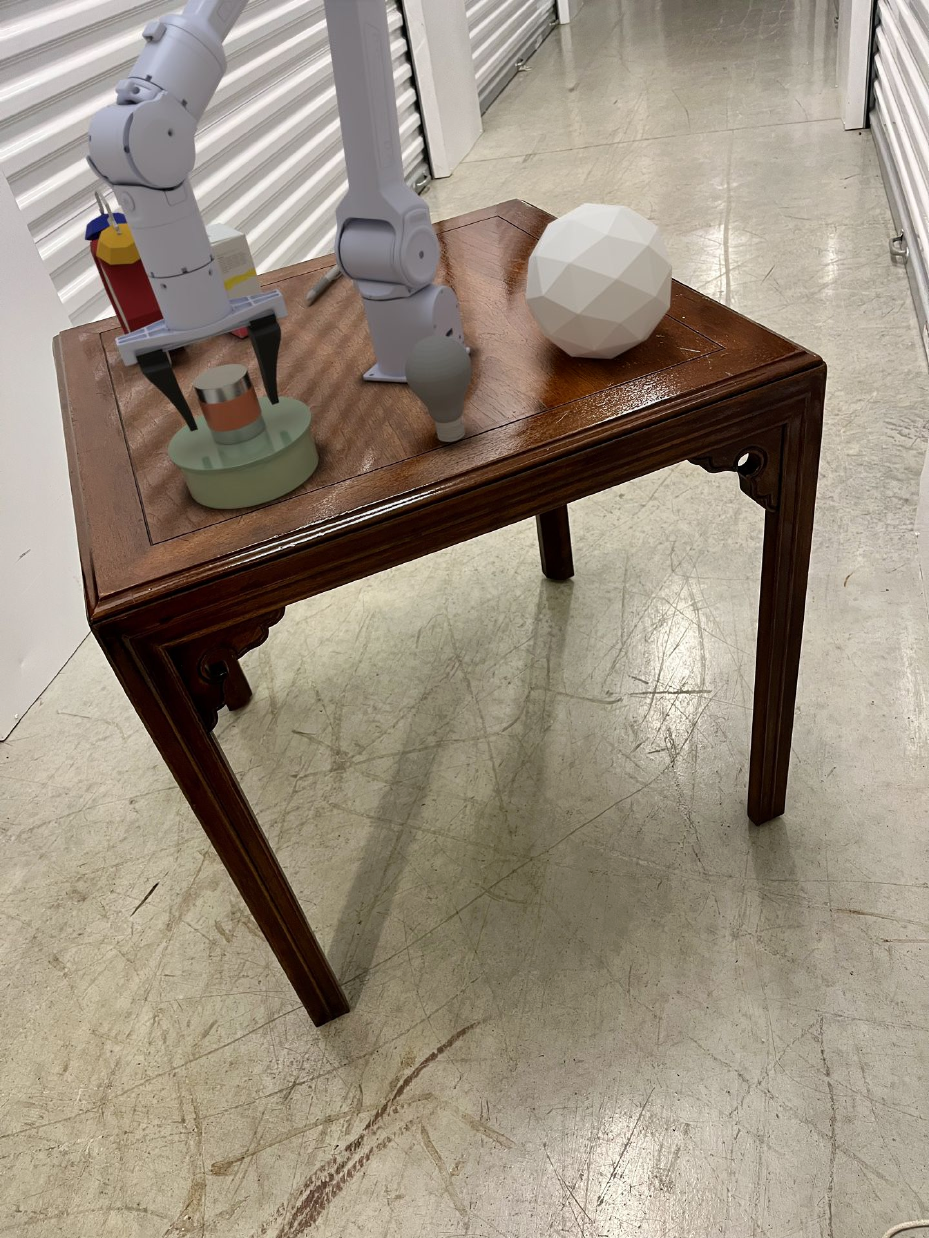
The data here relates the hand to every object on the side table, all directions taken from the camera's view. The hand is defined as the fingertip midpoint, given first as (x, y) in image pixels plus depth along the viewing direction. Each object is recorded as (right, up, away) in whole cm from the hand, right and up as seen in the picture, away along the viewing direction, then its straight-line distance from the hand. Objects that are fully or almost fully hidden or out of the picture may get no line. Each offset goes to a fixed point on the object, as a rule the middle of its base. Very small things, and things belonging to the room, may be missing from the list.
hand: (233, 413), depth 86 cm
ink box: (-7, +19, +36) cm, 41 cm away
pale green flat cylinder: (+1, -5, +4) cm, 6 cm away
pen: (+3, +26, +42) cm, 50 cm away
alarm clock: (-16, +15, +33) cm, 40 cm away
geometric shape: (+36, +9, +12) cm, 39 cm away
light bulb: (+20, -2, +3) cm, 20 cm away
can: (0, -1, +1) cm, 2 cm away
